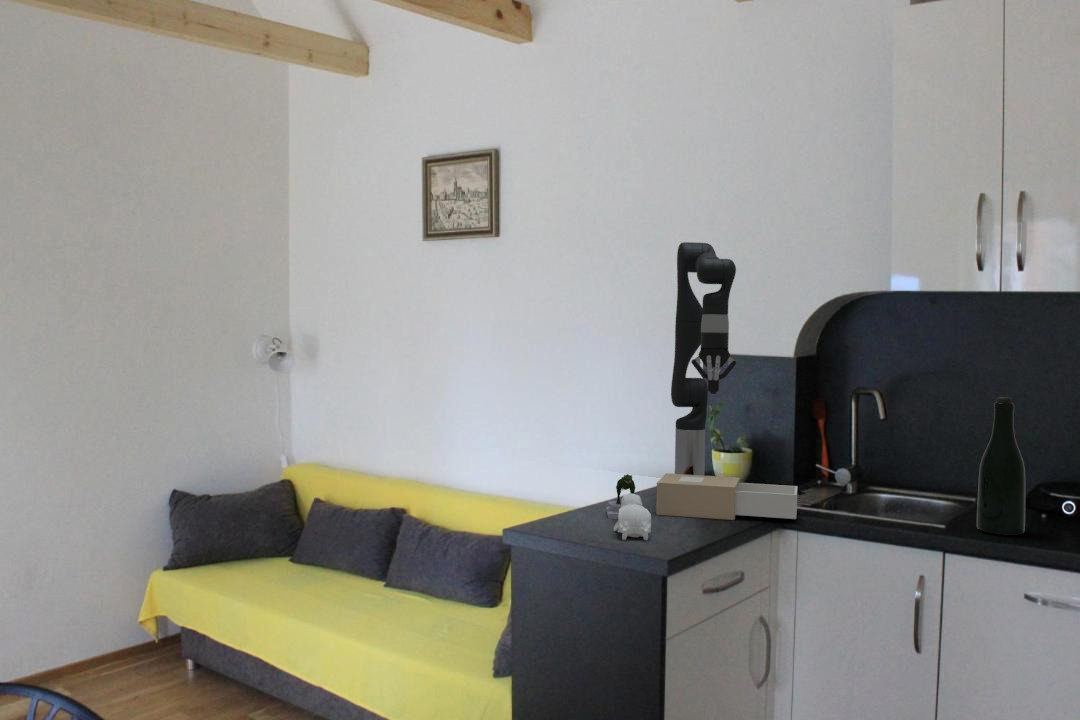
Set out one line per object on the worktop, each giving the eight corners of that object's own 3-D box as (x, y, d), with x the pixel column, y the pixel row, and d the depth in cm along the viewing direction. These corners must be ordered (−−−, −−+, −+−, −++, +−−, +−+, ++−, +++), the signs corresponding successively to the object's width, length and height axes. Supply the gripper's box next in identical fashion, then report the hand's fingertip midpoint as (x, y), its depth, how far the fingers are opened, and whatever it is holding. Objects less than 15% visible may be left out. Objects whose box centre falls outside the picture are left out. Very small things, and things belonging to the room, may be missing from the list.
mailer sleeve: (665, 503, 254) (666, 473, 254) (739, 508, 249) (739, 477, 248) (656, 514, 239) (656, 482, 239) (734, 520, 233) (735, 486, 233)
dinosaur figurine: (609, 522, 229) (610, 475, 229) (604, 506, 249) (605, 463, 249) (646, 522, 229) (647, 476, 229) (638, 507, 249) (639, 464, 249)
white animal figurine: (652, 552, 211) (646, 516, 225) (655, 521, 208) (648, 486, 222) (615, 551, 211) (612, 515, 225) (617, 520, 208) (613, 485, 222)
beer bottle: (987, 525, 230) (991, 394, 229) (1031, 533, 223) (1036, 397, 221) (968, 531, 224) (972, 396, 223) (1013, 539, 216) (1017, 399, 215)
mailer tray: (723, 504, 249) (724, 481, 248) (796, 509, 243) (797, 486, 243) (718, 513, 236) (719, 490, 235) (796, 519, 230) (796, 495, 230)
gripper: (740, 331, 255) (738, 393, 255) (692, 330, 258) (691, 391, 259) (738, 331, 247) (736, 395, 248) (689, 330, 251) (687, 393, 252)
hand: (713, 393), depth 254 cm, fingers closed
